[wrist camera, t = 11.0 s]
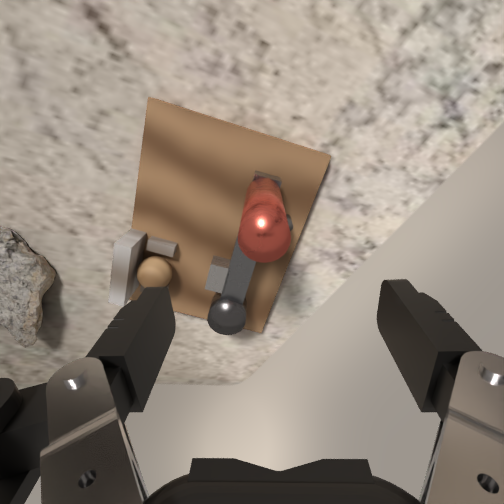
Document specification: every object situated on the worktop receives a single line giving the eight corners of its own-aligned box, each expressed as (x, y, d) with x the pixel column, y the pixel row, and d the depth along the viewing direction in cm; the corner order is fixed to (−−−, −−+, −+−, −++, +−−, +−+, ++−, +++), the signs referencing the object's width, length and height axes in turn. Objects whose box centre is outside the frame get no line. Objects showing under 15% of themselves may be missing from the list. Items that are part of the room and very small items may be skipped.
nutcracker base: (152, 97, 27) (129, 94, 22) (328, 154, 28) (342, 162, 24) (126, 292, 36) (106, 319, 31) (261, 326, 38) (261, 357, 33)
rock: (-3, 227, 29) (59, 350, 34) (34, 216, 33) (85, 328, 38) (-96, 241, 32) (-27, 351, 37) (-52, 229, 36) (5, 331, 41)
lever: (241, 321, 34) (232, 419, 23) (199, 311, 34) (170, 406, 23) (288, 179, 27) (307, 224, 16) (236, 164, 26) (218, 199, 16)
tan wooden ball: (146, 246, 32) (133, 262, 29) (178, 255, 32) (169, 271, 29) (142, 274, 33) (129, 291, 30) (173, 282, 34) (163, 300, 30)
